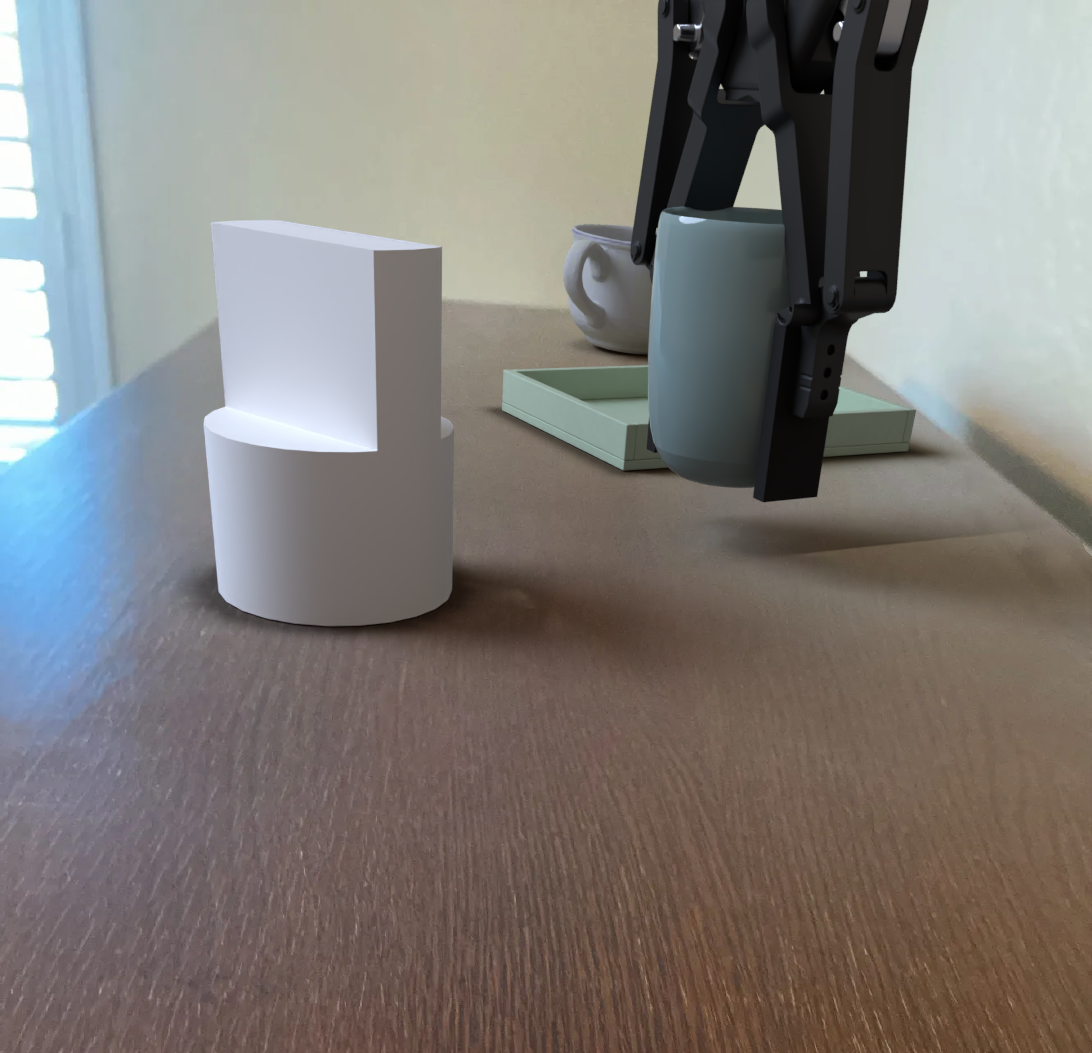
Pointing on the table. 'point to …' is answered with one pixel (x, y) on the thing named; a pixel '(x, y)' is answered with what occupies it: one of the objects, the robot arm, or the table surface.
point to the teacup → (608, 288)
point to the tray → (622, 414)
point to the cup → (714, 338)
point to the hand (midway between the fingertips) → (727, 471)
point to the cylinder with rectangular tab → (329, 426)
